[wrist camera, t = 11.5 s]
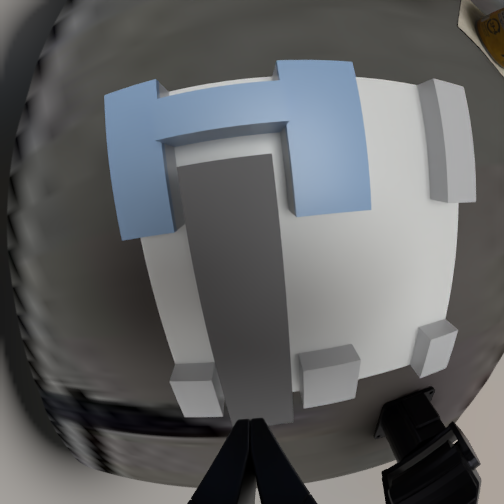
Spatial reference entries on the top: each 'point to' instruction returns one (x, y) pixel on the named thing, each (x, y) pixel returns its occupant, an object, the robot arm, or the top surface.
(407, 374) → the top surface
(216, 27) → the top surface
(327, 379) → the white plate with bars
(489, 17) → the condiment
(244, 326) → the long grey beam
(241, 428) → the robot arm
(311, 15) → the top surface
